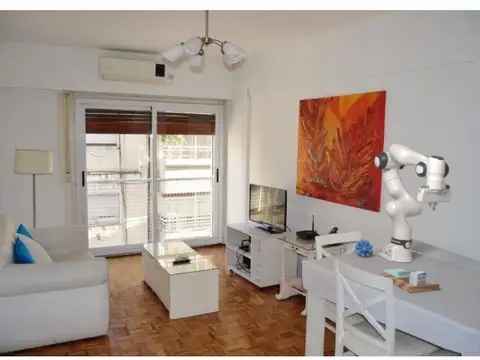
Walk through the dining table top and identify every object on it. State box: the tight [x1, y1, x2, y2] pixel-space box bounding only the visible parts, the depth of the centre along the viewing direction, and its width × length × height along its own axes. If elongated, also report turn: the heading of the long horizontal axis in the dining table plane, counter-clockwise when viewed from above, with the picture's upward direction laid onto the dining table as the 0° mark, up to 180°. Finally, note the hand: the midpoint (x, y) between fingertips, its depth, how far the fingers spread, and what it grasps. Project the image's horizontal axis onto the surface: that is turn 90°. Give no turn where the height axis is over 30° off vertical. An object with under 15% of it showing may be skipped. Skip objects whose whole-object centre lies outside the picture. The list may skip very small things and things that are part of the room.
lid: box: [383, 268, 415, 278], centre depth 244 cm, size 12×12×3 cm
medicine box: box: [409, 270, 427, 286], centre depth 231 cm, size 8×4×9 cm, turn 124°
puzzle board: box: [380, 272, 440, 294], centre depth 237 cm, size 24×18×3 cm
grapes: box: [354, 238, 374, 258], centre depth 286 cm, size 12×7×12 cm, turn 86°
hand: (432, 210), depth 245 cm, fingers closed
